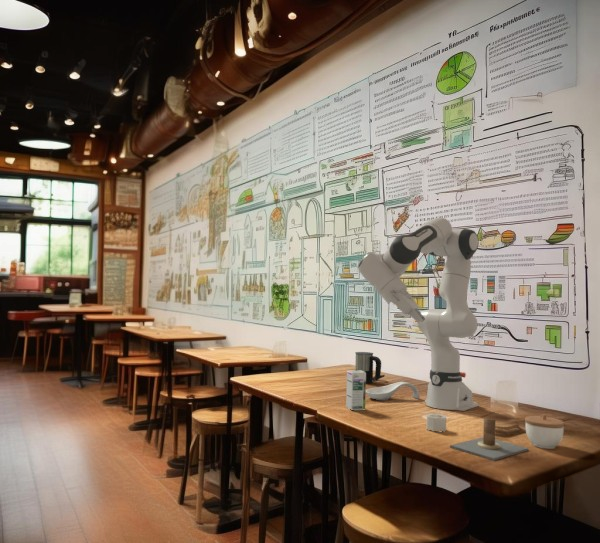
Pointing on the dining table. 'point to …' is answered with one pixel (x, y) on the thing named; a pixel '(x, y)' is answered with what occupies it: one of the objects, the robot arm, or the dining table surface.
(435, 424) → the white octagonal base
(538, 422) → the lidded jar
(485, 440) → the brown peg on disc
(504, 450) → the mat
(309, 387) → the dining table surface
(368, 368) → the milk frother
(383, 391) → the spoon rest
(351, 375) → the syrup box
